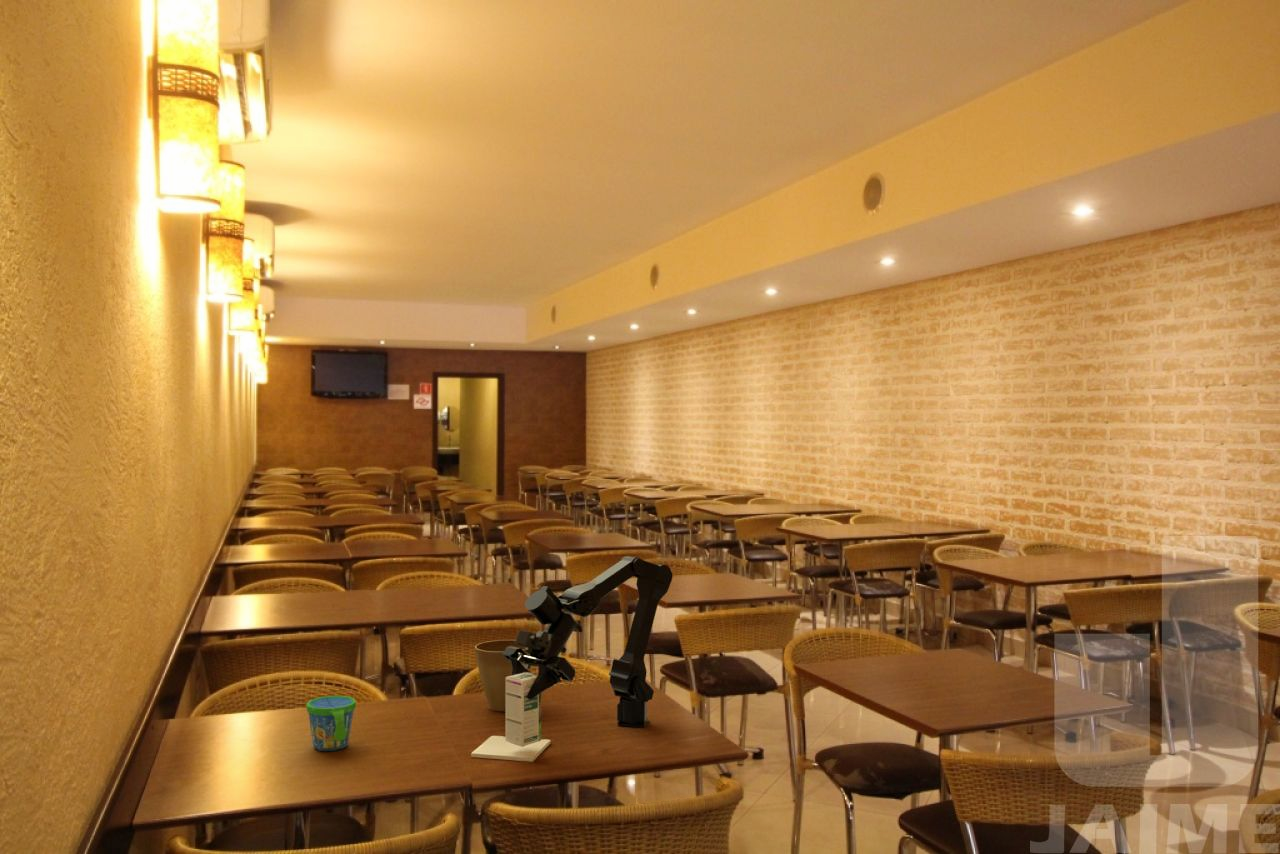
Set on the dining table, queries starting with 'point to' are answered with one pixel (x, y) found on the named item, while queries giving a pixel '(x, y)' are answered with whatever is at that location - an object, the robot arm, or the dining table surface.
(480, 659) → the plant pot
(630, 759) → the dining table surface
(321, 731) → the snack cup
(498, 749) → the cream mat
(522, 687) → the syrup box
